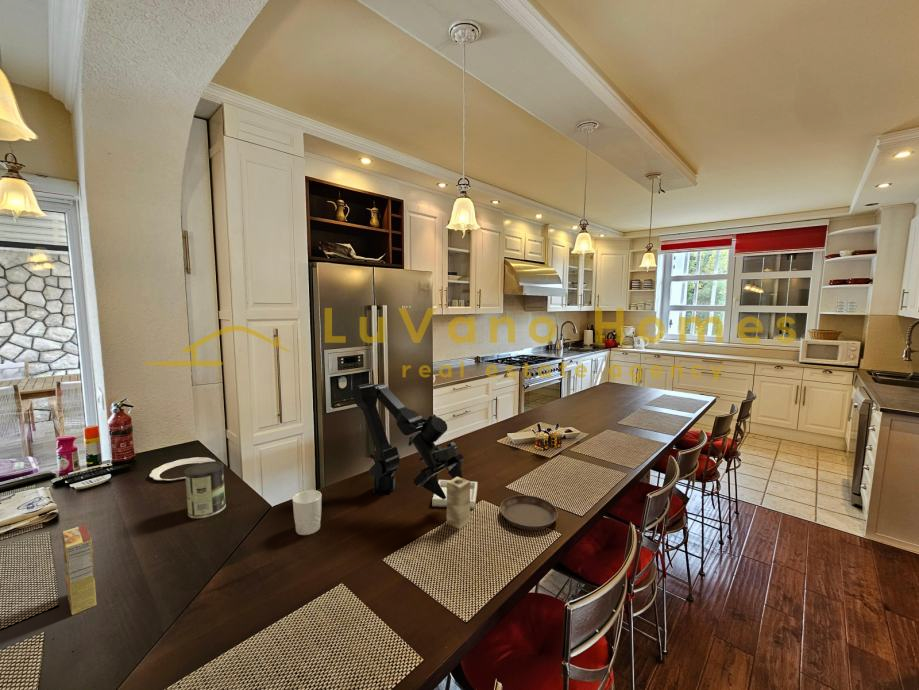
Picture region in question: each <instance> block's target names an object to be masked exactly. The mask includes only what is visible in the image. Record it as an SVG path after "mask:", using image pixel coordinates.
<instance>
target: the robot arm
mask: <svg viewBox="0 0 919 690" xmlns="http://www.w3.org/2000/svg"><path fill="white" fill-rule="evenodd" d="M351 397H352V399H353V401H354V403H355V405H356V406H357V407H358V408H359V409H361V411H362V413H363V416H364V419H365V421H366V425H367V428H368V430H369V433H370V434H369V435H370V436H371V440H372V443H373V446H374V449H375V450H374V454H373V461H374V464H373V465H372V466H371V467H370V468H369V475H370V476H371V477H373V478H374V479H373V483H374V484H373V486H374V489H373V490H372V493H373V494H381V495H390V494H392V492H393V490H394V489H395V488H396V475H394V473H395V472H397V471H398V468H399V467H400V464H401V459H400V457H401V455H400V454H399V451H398V448H397V446H393V445H391V444H390V443H389V440H388V437H387V434H386V431H385V428H384V424H383V422H382V419H381V416H380V413H379V411H378V407H377V403H378V402H380V403H381V404H382V405H383V406H384V408H386V410H388V412H389V413H390V414H391V415H392V417H394V419H395V422H396V426H397V428H398V429H399V431H400V432H401V433H402V435H404V436H410V437H409V438H408V439H409V440H408V444H407V445H408V446H409V447H411V446H414V447H415V449H416V451H417V453H418V454H419V456H420V458H419V461H420V462H422V463H423V462H424V464H425V466H426V467H425V468H423V469H420V471H418V473H416V474H415V476H414V477H413V483H414V485H415V486H416V488H418V487H420V488H421V489H422V488H423V489H425V490H427V491H429V492H431V493H432V494H433V495H434V494H436V495H437V496H439V497H440V498H442V499H443V500H444V499H446V496H445V494H444V492H443V490H442V488H441V487H440V485H439V483H438V481H439V480H438V473H441V472H442V471H443V470H447V473H448V474H449V476H450V477H451V478H452V479H454V478H456V477H460V478H463V479H464V476H463V474H462V464H463V463H464V461H463V460H465V457H464V456H463V453H460V452H458V451H459V448H458V445H457V444H456V443H455V442H454V441H451V442H449V443H447V444H446V447H443V448H442V446H441V445H436V444H435V442H437V441H438V440H439V439H440V438H441V437H443V435H444V434H445V433H446V432H447V430H448V424H447V422H446V421H445V420H444V419H442V418H441V417H438V416H437V415H436V414H431V415H429V417H428V418H427V419H426V418H425V417H424V418H423V417H422V415H421V414H419V413H418V412H416V410H414V409H410V408H408V407H406V406H405V404H404V403H402V401H400V399H399V398H398V397H397V396H396V395H395V393H393V392H392V391H391V390H390V389H389V388H388V385H387V384H386V383H383V382H382V383H378V384H377V383H376V384H373V383H371V382H370V383H365V384H359V385H355V386H354V387H353V389H352V390H351ZM413 434H415V435H413ZM411 435H413V436H411Z"/></svg>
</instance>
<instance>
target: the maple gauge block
mask: <svg viewBox="0 0 919 690" xmlns="http://www.w3.org/2000/svg"><path fill="white" fill-rule="evenodd" d="M470 482H471V481H470V480H467V479H465V478H464V477H463V478H460V477H456V478H454V479H453V478H452V479H450V481H449V482H447V507H446V524H447V525H449V526H451V527H453V528H456V529H458V530H461V529H462V528H464V527H465V526H466V525H468V524H469V523H470V520H471V517H470V516H471V512H470V511H471V509H470ZM468 522H469V523H468ZM467 523H468V524H467Z"/></svg>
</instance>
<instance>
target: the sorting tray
mask: <svg viewBox="0 0 919 690" xmlns="http://www.w3.org/2000/svg"><path fill="white" fill-rule="evenodd" d="M450 480H451V479H450ZM450 480H449V479H438V480H437V481H438V483H439V485H440V487H441V488H442V490H443V492H444V494H445V496H446V499H444V500H443V499H442V498H440V497H439V496H437V495H436V494H434V493H433V495H432V496H433V497H432V499H431V500H432V501H431V502H432V504H431V505H432V507H440V508H447V482H449V481H450ZM477 493H478V481H470V510H471V509H472V510H475V509H476V502H477Z"/></svg>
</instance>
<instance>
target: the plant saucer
mask: <svg viewBox="0 0 919 690" xmlns="http://www.w3.org/2000/svg"><path fill="white" fill-rule="evenodd" d="M499 507H500V508H499V510H500V514H502V516H503V518H504V519H505V520H506V521H507V523H509V524H510V525H512V526H514V527H515V528H517V529H520V530H524V531H529V532H531V531H532V532H533V531H540V530H545V529H546V528H548V527H550V526H551V525H552V524H553V523H554V522H555V521H556V520H557V518H558V515H559V513H558V510H557V508H556V506H554V504H553V503H551V502H550V501H549V500H547V499H544V498H541V497H538V496H534V495H528V494H527V495H526V494H524V495H523V494H521V495H513V496H509V497H508V498H505V499H504V500H503V501H502V502H501V504H500V506H499Z"/></svg>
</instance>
